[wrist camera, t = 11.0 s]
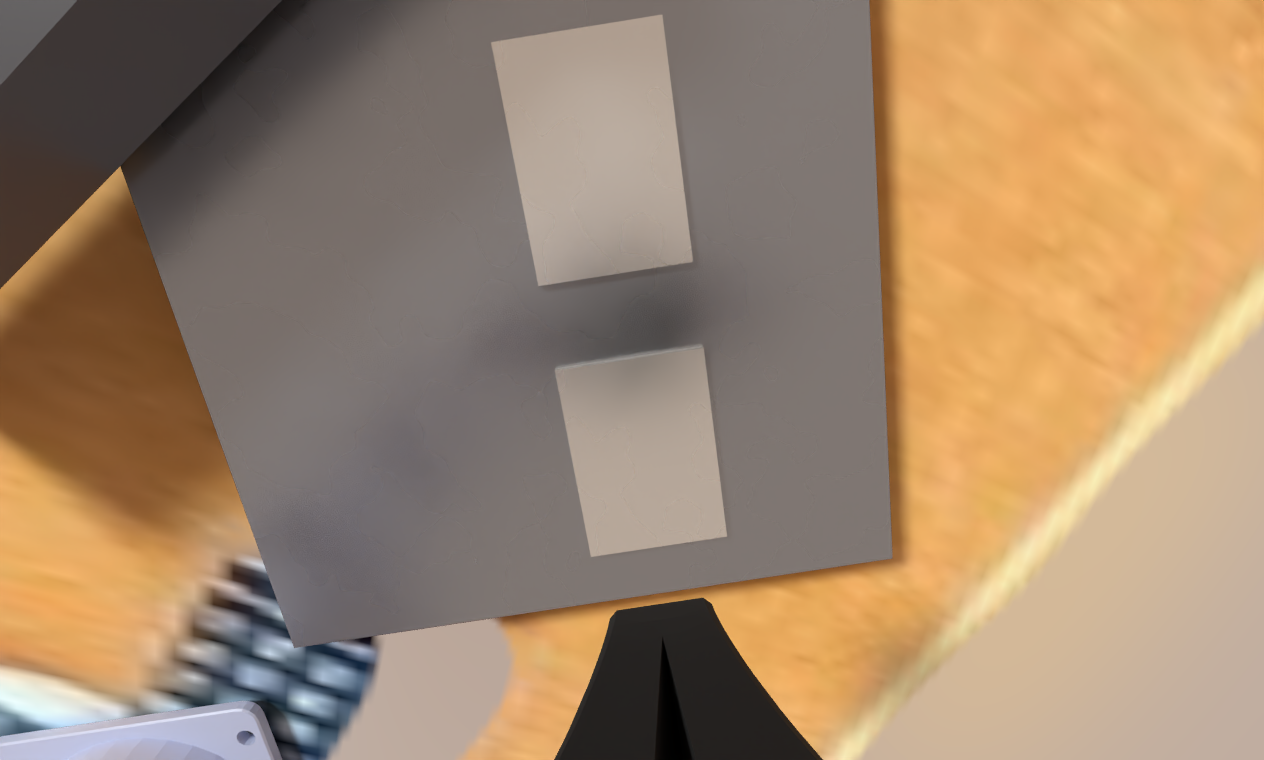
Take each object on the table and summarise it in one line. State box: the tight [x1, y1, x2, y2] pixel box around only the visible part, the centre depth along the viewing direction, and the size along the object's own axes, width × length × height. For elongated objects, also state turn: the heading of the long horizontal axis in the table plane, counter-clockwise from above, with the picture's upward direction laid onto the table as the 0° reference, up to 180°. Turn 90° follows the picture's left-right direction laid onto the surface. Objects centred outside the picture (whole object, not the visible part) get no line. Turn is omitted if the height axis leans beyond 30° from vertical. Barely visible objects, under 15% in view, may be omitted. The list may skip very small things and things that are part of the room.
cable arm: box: [0, 0, 282, 289], centre depth 12 cm, size 20×3×6 cm, turn 129°
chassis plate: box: [121, 0, 892, 648], centre depth 16 cm, size 16×16×1 cm
